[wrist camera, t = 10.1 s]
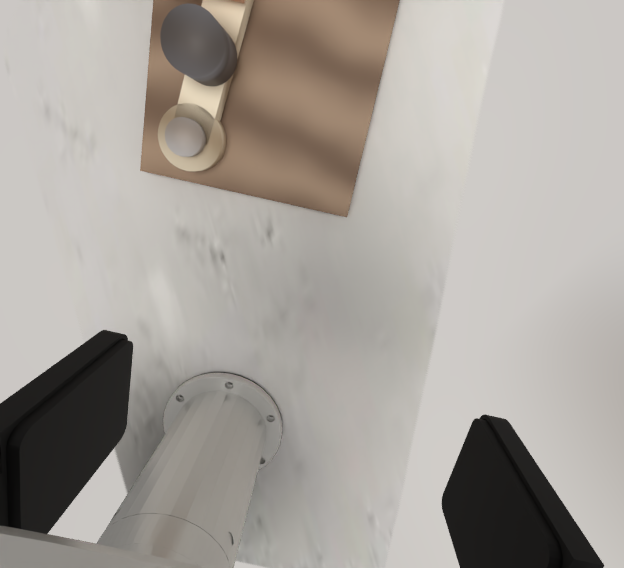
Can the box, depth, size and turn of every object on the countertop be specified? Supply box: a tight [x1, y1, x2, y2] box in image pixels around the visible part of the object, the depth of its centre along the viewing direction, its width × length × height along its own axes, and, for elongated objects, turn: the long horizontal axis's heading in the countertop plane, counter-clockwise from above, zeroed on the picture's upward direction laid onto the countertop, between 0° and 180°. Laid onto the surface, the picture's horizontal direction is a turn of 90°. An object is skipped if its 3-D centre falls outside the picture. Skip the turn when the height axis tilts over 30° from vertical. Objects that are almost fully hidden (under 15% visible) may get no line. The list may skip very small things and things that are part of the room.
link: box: [158, 0, 254, 171], centre depth 28 cm, size 14×5×6 cm, turn 159°
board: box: [140, 0, 400, 217], centre depth 29 cm, size 23×18×5 cm
